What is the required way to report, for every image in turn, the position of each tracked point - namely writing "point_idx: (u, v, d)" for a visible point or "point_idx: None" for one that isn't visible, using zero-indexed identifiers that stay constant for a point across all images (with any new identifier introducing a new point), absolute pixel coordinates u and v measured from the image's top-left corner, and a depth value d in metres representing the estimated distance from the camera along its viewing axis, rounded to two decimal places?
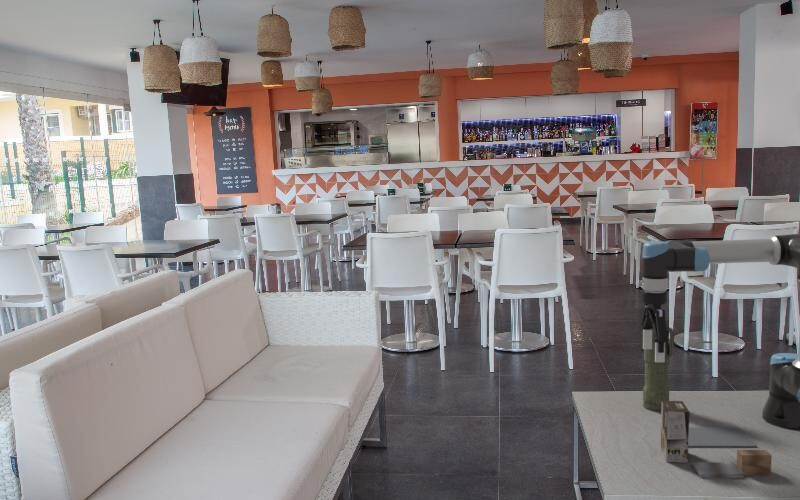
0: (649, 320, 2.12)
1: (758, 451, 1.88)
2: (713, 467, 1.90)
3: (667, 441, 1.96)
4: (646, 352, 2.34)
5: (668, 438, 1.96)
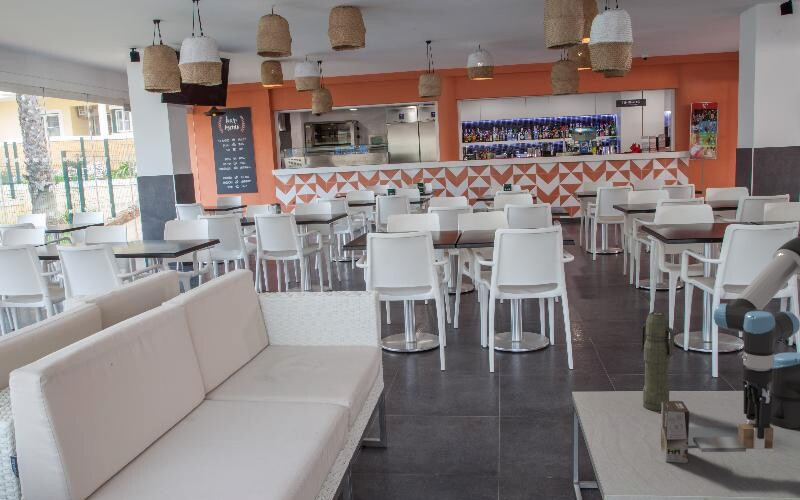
0: (753, 403, 1.88)
1: None
2: (714, 441, 1.89)
3: (667, 441, 1.96)
4: (646, 352, 2.34)
5: (668, 438, 1.96)
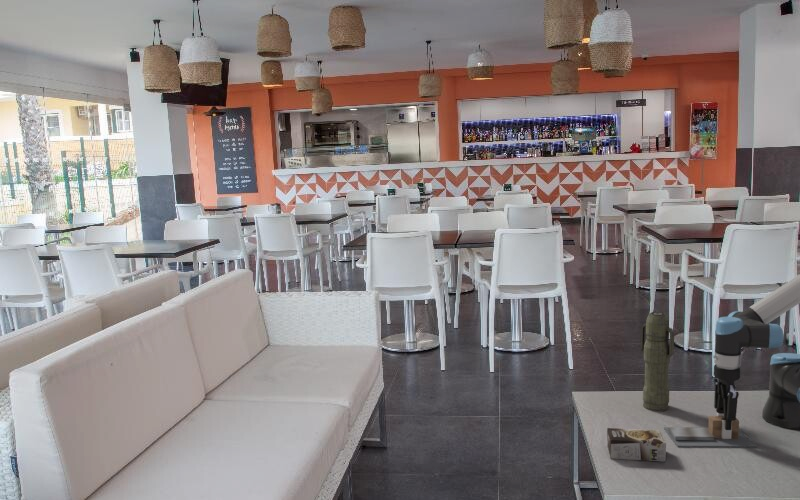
0: (722, 399, 2.11)
1: None
2: (687, 431, 2.13)
3: (643, 459, 1.98)
4: (646, 352, 2.34)
5: (639, 458, 1.98)
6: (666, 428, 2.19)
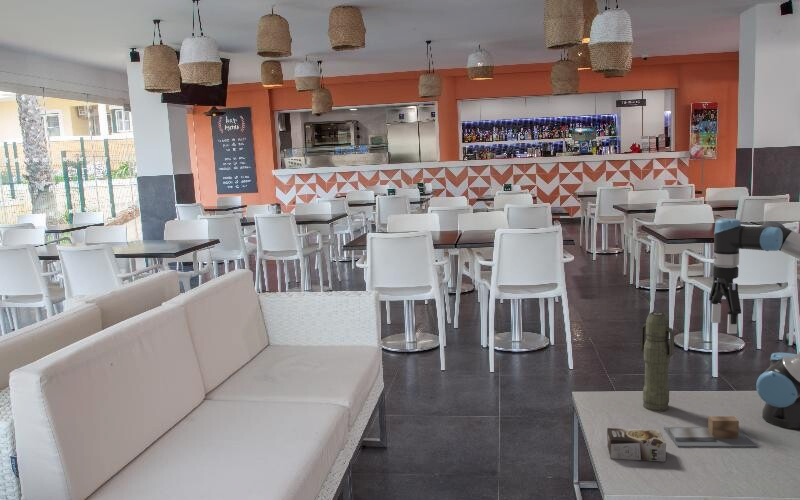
0: (719, 294, 2.23)
1: (727, 417, 2.11)
2: (687, 432, 2.13)
3: (643, 459, 1.98)
4: (646, 352, 2.34)
5: (639, 458, 1.98)
6: (666, 428, 2.19)
